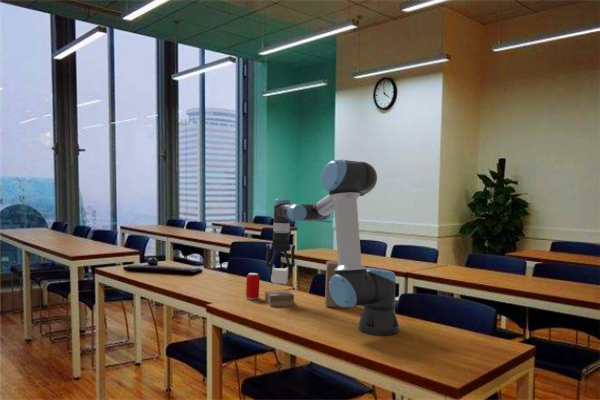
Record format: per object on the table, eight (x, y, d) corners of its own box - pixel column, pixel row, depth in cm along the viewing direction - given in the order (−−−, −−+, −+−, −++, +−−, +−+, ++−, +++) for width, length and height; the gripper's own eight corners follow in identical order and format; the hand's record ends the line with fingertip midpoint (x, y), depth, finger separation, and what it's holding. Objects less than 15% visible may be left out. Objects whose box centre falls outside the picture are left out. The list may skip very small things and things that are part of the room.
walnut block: (293, 306, 209) (294, 295, 209) (270, 307, 206) (270, 295, 206) (287, 300, 219) (287, 290, 219) (264, 301, 216) (265, 290, 216)
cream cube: (286, 283, 210) (287, 270, 210) (273, 283, 209) (273, 270, 209) (285, 281, 216) (285, 268, 216) (272, 280, 215) (273, 268, 215)
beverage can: (254, 300, 215) (255, 275, 215) (243, 298, 218) (244, 273, 218) (261, 298, 221) (262, 273, 221) (250, 296, 224) (251, 272, 224)
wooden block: (347, 308, 206) (349, 264, 206) (325, 307, 206) (327, 263, 206) (346, 303, 216) (347, 261, 216) (324, 302, 216) (326, 260, 216)
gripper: (300, 231, 217) (298, 280, 218) (260, 230, 214) (258, 279, 215) (302, 233, 210) (300, 283, 210) (261, 232, 207) (259, 283, 207)
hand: (279, 281), depth 212 cm, fingers closed on cream cube, 6 cm apart
